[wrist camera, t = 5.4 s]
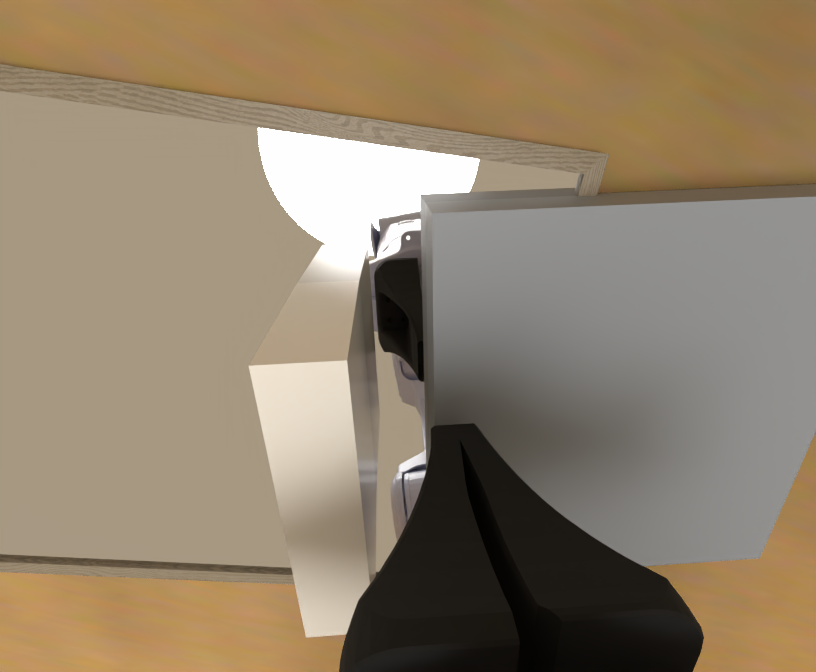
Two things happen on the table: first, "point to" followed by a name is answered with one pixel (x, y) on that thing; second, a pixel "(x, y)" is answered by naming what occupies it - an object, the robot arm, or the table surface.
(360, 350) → the tile
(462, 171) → the picture frame
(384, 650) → the robot arm
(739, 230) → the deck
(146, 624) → the table surface
